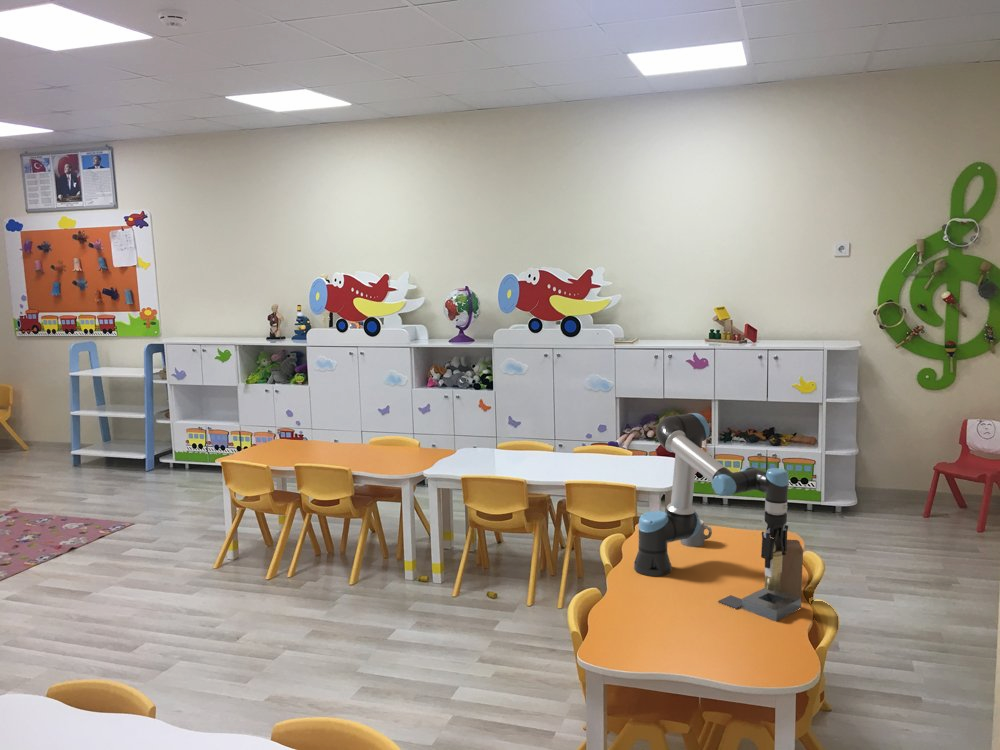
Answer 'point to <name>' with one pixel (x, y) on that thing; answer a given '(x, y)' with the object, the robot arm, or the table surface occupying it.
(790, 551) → the wooden block
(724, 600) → the pad
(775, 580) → the brass cylinder
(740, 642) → the table surface
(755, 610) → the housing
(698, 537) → the coffee mug
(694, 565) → the table surface
